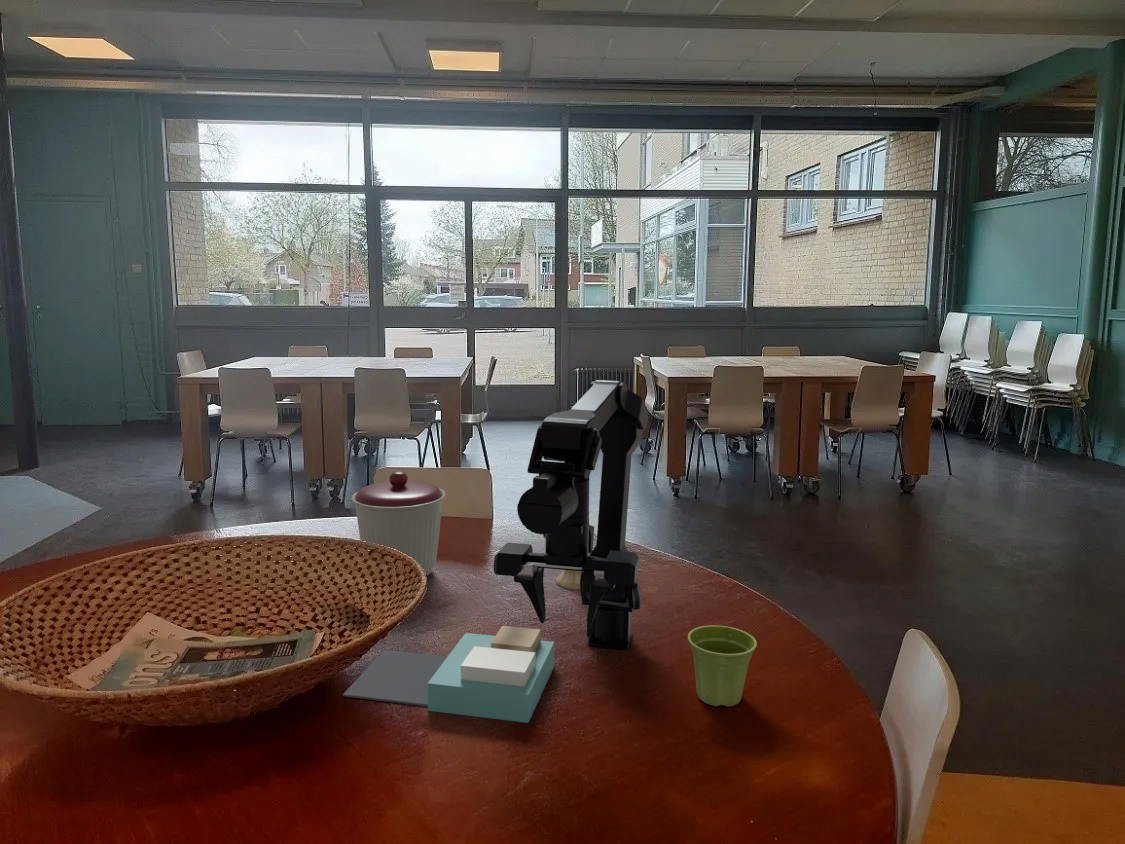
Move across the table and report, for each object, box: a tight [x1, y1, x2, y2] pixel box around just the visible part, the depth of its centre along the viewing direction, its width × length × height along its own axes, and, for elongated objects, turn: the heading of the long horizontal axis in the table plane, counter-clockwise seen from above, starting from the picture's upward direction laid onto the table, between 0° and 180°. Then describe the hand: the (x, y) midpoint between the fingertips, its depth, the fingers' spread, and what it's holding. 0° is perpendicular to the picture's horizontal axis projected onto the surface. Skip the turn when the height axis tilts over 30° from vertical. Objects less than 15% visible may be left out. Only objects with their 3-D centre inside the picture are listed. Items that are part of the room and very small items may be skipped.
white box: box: [461, 646, 535, 686], centre depth 108 cm, size 9×6×2 cm, turn 78°
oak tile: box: [491, 625, 542, 652], centre depth 115 cm, size 6×6×2 cm
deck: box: [427, 632, 555, 724], centre depth 112 cm, size 14×16×4 cm
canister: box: [350, 470, 446, 577], centre depth 154 cm, size 18×18×21 cm
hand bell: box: [555, 570, 582, 591], centre depth 152 cm, size 8×8×16 cm
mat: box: [342, 649, 448, 707], centre depth 115 cm, size 13×14×1 cm
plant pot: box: [687, 624, 758, 708], centre depth 110 cm, size 9×9×9 cm
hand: (566, 624), depth 105 cm, fingers open, 6 cm apart
